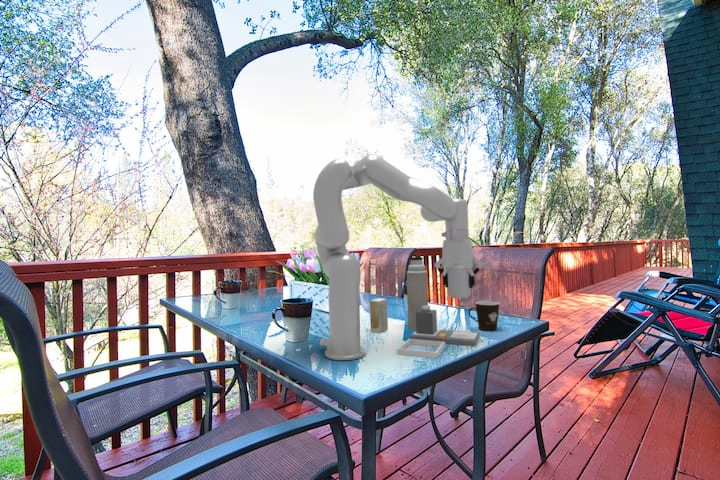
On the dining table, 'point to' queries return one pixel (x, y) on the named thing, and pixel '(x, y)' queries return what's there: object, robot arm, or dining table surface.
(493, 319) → the coffee mug
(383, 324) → the skincare box
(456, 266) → the can
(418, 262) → the thermos bottle
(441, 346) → the tray
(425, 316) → the plug block
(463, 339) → the grey flat piece
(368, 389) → the dining table surface
